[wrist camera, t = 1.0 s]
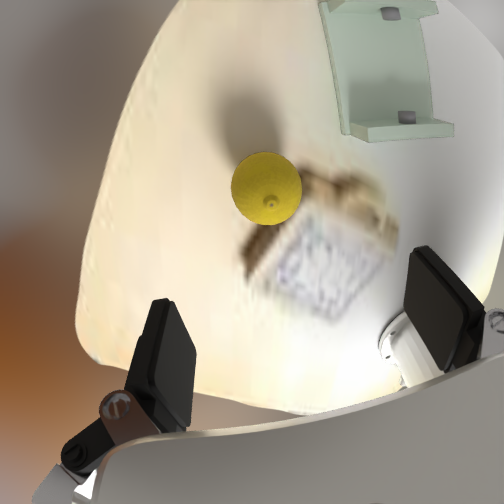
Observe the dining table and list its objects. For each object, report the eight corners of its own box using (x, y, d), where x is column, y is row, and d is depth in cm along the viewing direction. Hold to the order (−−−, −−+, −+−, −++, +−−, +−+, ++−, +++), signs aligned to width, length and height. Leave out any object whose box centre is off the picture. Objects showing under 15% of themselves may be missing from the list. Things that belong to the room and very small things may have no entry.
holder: (428, 127, 25) (457, 136, 20) (341, 134, 25) (363, 143, 21) (411, 10, 18) (439, 2, 14) (318, 4, 19) (335, -12, 14)
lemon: (253, 133, 25) (261, 148, 18) (303, 167, 27) (328, 195, 20) (219, 182, 27) (214, 216, 20) (268, 212, 29) (280, 255, 22)
